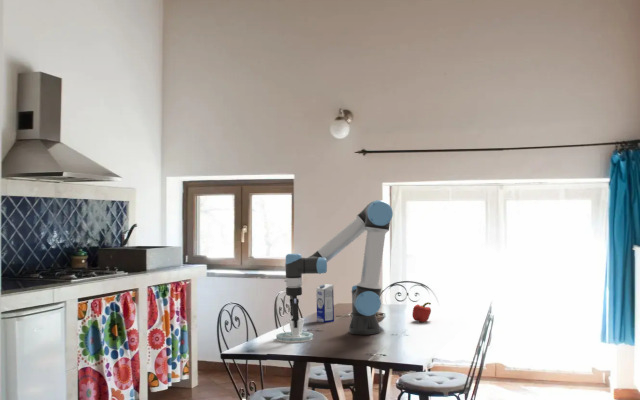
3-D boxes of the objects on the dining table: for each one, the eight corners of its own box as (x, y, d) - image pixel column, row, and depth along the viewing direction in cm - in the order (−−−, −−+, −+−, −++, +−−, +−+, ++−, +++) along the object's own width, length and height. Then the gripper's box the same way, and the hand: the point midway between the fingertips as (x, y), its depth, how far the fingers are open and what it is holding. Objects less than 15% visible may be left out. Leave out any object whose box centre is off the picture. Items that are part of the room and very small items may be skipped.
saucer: (318, 336, 308) (318, 332, 308) (303, 343, 292) (303, 339, 292) (286, 334, 314) (286, 330, 314) (270, 341, 299) (270, 337, 299)
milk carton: (334, 321, 351) (333, 284, 352) (324, 322, 347) (323, 285, 348) (326, 319, 357) (326, 283, 358) (316, 321, 353) (316, 284, 354)
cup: (304, 337, 302) (303, 320, 302) (282, 338, 302) (282, 320, 302) (304, 334, 309) (303, 317, 309) (283, 335, 309) (282, 318, 309)
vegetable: (427, 319, 353) (426, 301, 353) (436, 322, 343) (435, 303, 343) (408, 320, 349) (408, 302, 350) (417, 323, 340) (417, 304, 340)
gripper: (284, 284, 316) (285, 327, 315) (287, 289, 291) (288, 337, 290) (299, 283, 317) (300, 327, 316) (304, 289, 292) (305, 336, 291)
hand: (294, 332), depth 303 cm, fingers open, 13 cm apart
